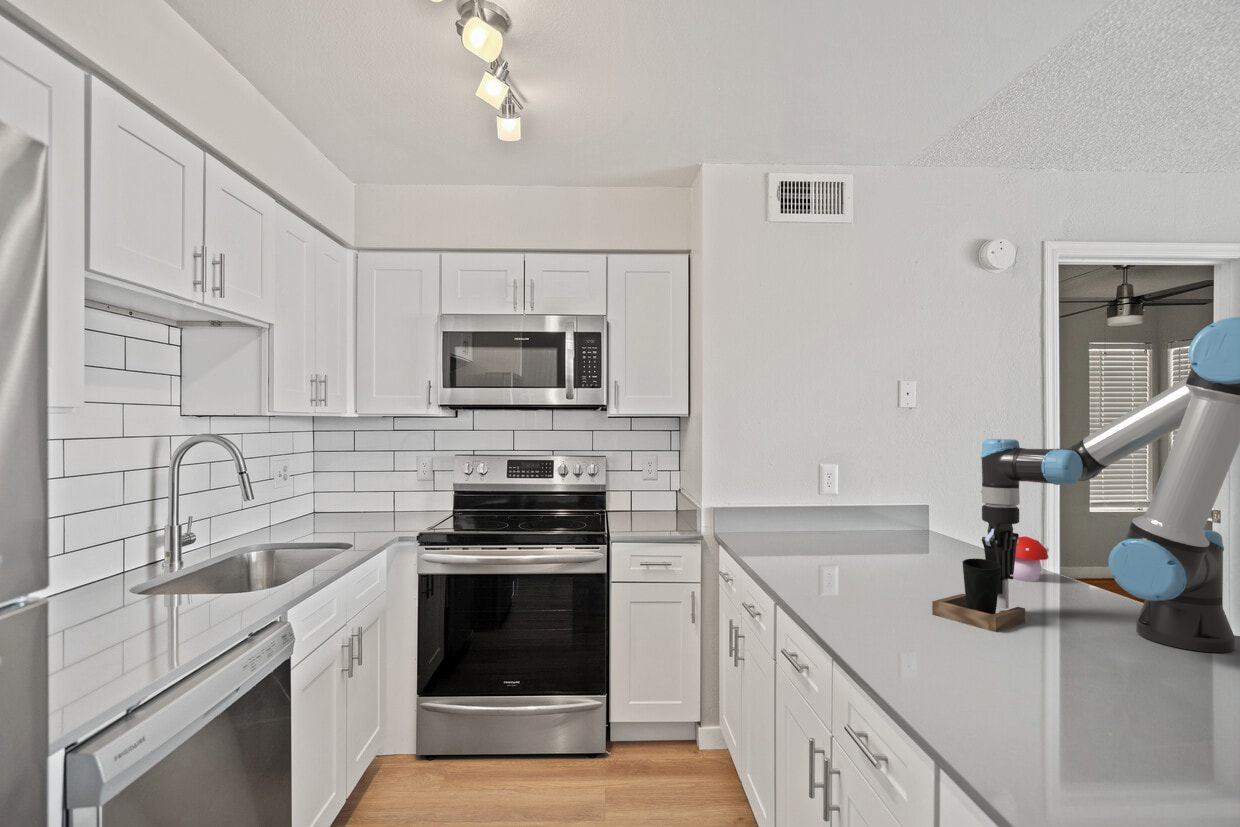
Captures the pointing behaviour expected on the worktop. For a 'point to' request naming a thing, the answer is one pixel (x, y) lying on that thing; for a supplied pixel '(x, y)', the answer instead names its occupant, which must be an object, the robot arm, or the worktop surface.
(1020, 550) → the mushroom
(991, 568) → the cup
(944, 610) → the wooden u-shaped bracket
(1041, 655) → the worktop surface
